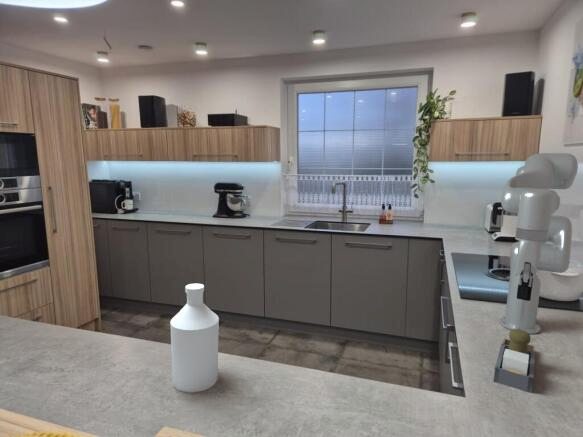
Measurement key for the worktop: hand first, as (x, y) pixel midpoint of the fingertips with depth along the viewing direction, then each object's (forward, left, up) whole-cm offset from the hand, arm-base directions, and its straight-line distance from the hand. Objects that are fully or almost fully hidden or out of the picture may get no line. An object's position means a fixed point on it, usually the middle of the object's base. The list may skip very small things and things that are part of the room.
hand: (524, 294), depth 104 cm
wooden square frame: (-9, 0, -22) cm, 24 cm away
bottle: (+61, -68, -22) cm, 93 cm away
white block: (+9, 0, -22) cm, 23 cm away
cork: (+1, 0, -22) cm, 22 cm away
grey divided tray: (+4, 0, -22) cm, 22 cm away
